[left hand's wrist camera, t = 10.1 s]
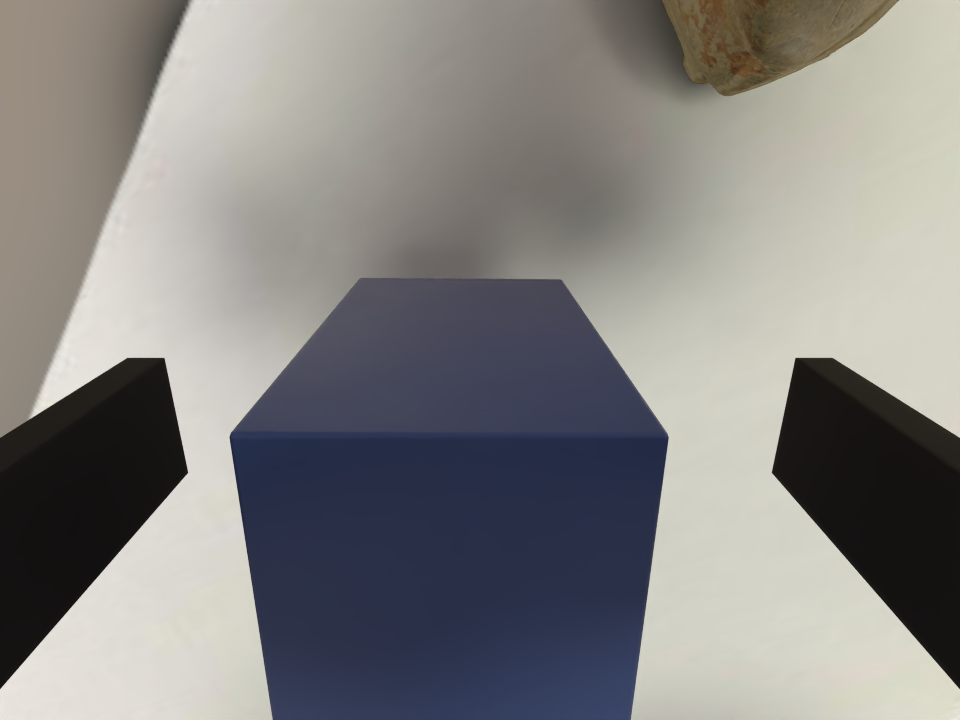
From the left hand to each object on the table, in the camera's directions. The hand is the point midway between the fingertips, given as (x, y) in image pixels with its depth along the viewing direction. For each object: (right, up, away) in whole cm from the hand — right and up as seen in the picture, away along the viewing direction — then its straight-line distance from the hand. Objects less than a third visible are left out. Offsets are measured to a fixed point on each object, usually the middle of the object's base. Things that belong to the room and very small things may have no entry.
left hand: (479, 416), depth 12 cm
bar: (-1, -13, +9) cm, 15 cm away
